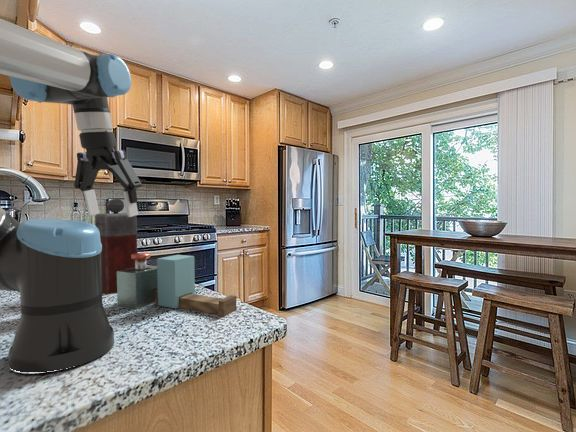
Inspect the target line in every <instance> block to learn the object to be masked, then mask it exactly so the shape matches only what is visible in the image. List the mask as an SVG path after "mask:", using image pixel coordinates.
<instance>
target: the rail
mask: <svg viewBox="0 0 576 432" xmlns="http://www.w3.org/2000/svg"><path fill="white" fill-rule="evenodd" d="M154 304H155V305H158V290H156V291H155V303H154ZM178 308H180V309H184V310H190V311H191V310H192V311H197V312H201V311H202V312H203V313H208V314H213V315H218V316H219V317H226V316H228V315H230V314H231V313H234V312H235V311H237V296H236V295H229V296H227V297H224V298H221V297H216V296H215V297H213V296H207V295H201V294H186V295H183V296H180V297H179V307H178Z"/></svg>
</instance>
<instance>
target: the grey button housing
mask: <svg viewBox="0 0 576 432" xmlns="http://www.w3.org/2000/svg"><path fill="white" fill-rule="evenodd" d="M156 290H158V280H157V265H149V264H147V270H143V271H135V267H134V268H129V269H124V270H120V271H117V293H116V297H117V299H116V300H117V303H116V304H117V307H124V308H127V309H128V308H129V309H132V310H138V309H142V308H144V307H147V306H150V305H152V304H155V291H156Z"/></svg>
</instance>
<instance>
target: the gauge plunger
mask: <svg viewBox="0 0 576 432" xmlns="http://www.w3.org/2000/svg"><path fill="white" fill-rule="evenodd" d="M150 258H151V253H150V252H137V253H135V254H131V259H135V271H143V270H147V265H148V263H147V262H148V261H147V259H150Z"/></svg>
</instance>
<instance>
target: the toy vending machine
mask: <svg viewBox="0 0 576 432" xmlns="http://www.w3.org/2000/svg"><path fill="white" fill-rule="evenodd" d="M106 208H107V210H108V211H109V212H111V213H98V214H94V215H95V216H94V219H95V220H94V225H95V226H96V227H97V228H98V229H99V232H100V240H101V244H102V293H104V294H105V295H111V294H115V293H116V294H117V271H120V270H124V269H129V268H134V267H135V259H131V254H135V253H138V225H137V224H138V223H137V221H138V220H137V215H135V216H132V217H128V215H127V212H122V211H123V210H124V208H125V202H124V201H123V200H122V199H120V198H111V199H109V200H108V201H107V203H106ZM120 212H122V213H120Z"/></svg>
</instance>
